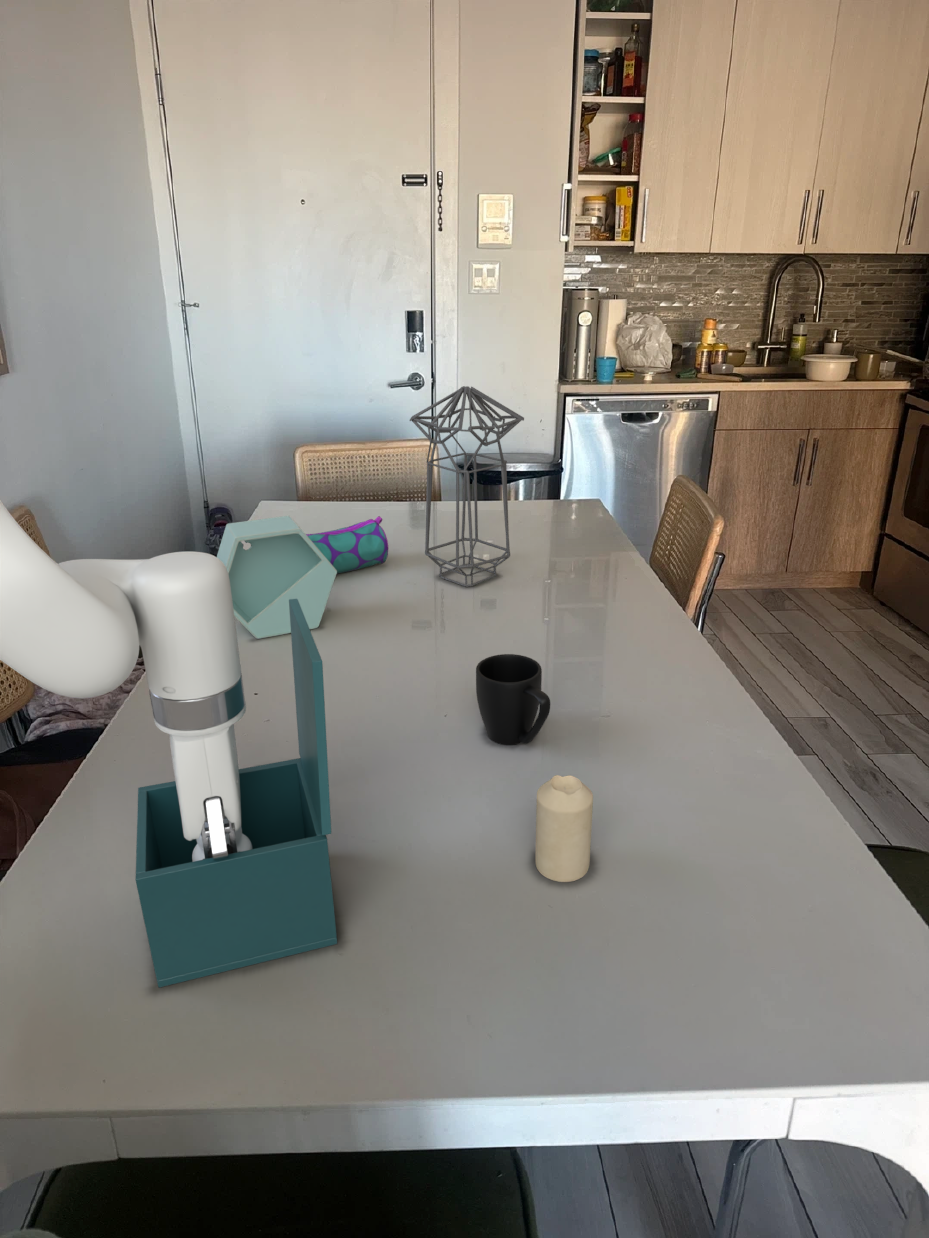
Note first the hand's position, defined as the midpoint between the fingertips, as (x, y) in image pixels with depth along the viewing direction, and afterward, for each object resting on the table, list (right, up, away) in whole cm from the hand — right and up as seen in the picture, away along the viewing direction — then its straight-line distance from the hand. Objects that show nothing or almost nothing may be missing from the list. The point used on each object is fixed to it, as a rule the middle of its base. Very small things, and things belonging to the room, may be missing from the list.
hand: (224, 868), depth 81 cm
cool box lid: (+8, +15, -4) cm, 17 cm away
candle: (+32, -2, +8) cm, 33 cm away
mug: (+29, +7, +30) cm, 43 cm away
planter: (-9, +22, +64) cm, 68 cm away
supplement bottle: (0, -5, +2) cm, 5 cm away
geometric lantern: (+23, +31, +84) cm, 92 cm away
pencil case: (-3, +32, +87) cm, 93 cm away
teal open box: (+1, -5, +3) cm, 6 cm away
